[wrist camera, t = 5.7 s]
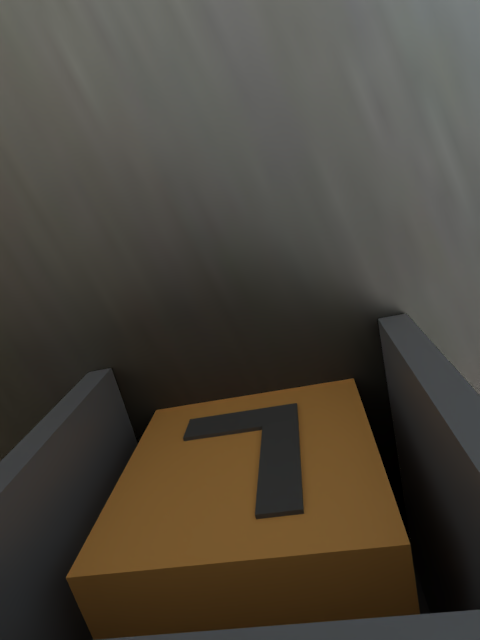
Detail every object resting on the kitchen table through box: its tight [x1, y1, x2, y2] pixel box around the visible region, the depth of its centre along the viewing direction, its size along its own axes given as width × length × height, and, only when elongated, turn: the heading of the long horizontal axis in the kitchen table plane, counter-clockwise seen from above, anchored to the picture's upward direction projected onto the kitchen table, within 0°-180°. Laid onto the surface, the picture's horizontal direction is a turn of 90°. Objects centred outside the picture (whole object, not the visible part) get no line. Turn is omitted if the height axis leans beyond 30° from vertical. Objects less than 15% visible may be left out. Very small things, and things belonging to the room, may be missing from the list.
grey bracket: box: [0, 314, 480, 640], centre depth 6 cm, size 6×6×6 cm
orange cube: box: [66, 378, 420, 640], centre depth 7 cm, size 4×4×4 cm
